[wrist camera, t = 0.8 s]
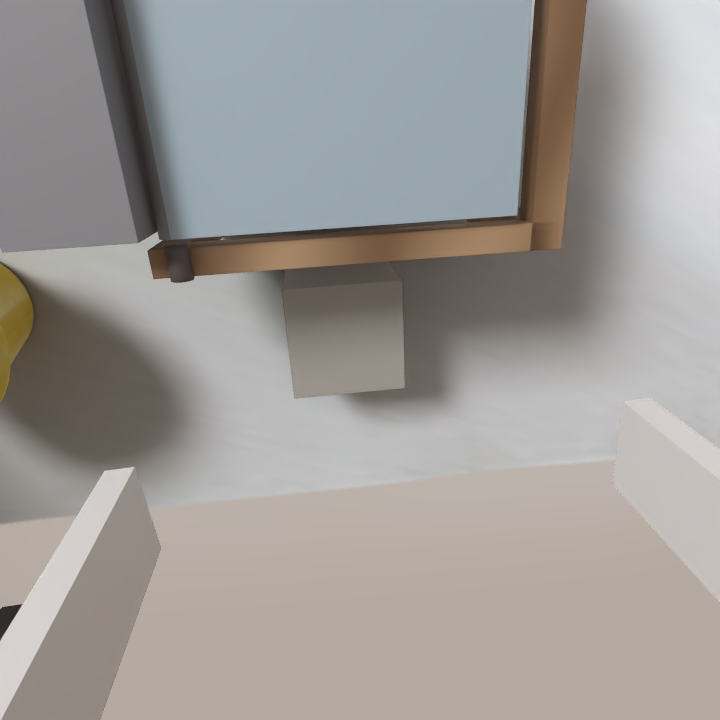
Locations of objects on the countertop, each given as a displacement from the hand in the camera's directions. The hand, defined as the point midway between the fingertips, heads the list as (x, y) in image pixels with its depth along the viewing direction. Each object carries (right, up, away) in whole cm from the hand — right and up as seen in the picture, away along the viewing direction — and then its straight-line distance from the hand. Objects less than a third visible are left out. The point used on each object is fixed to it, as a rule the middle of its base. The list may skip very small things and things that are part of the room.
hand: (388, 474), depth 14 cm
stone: (-2, +6, +18) cm, 19 cm away
